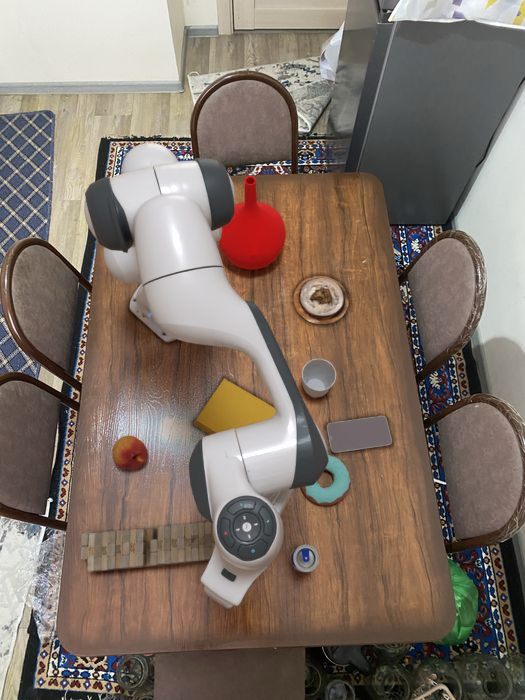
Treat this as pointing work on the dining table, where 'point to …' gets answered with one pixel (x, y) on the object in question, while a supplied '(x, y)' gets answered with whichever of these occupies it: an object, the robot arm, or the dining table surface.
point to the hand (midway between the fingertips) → (253, 543)
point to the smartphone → (358, 434)
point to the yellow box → (232, 409)
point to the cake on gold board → (320, 300)
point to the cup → (318, 377)
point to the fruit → (129, 452)
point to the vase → (253, 232)
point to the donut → (337, 487)
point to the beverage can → (304, 558)
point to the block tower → (148, 547)
